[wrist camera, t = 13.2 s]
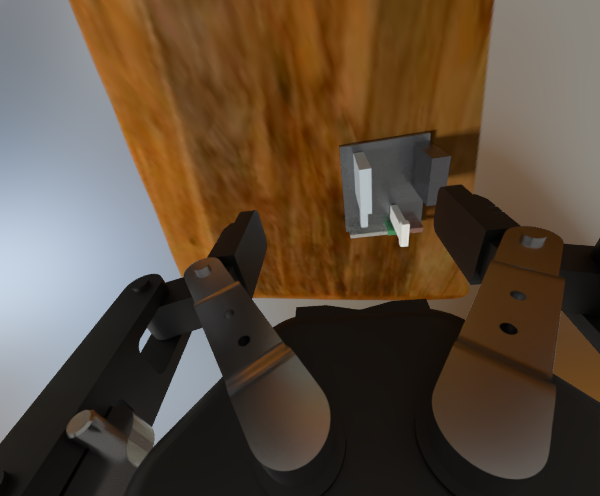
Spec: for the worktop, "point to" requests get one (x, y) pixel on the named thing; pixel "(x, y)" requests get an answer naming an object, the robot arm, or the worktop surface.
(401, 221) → the bar
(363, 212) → the block
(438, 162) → the stand
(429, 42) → the worktop surface
